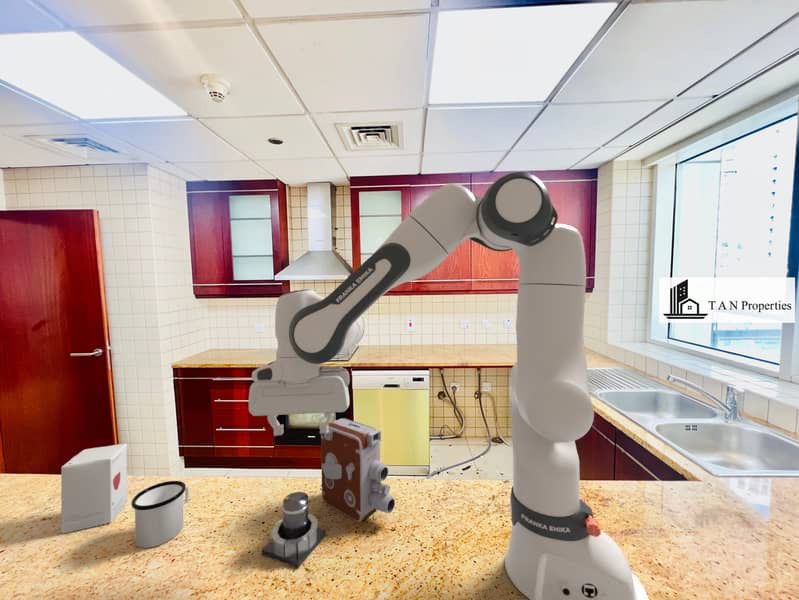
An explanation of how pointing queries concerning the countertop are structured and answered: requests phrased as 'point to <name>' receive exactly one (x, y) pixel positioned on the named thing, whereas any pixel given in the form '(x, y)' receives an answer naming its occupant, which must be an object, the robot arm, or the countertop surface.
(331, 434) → the cine camera
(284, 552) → the mount
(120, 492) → the supplement box
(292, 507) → the lens
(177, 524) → the mug
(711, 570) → the countertop surface
